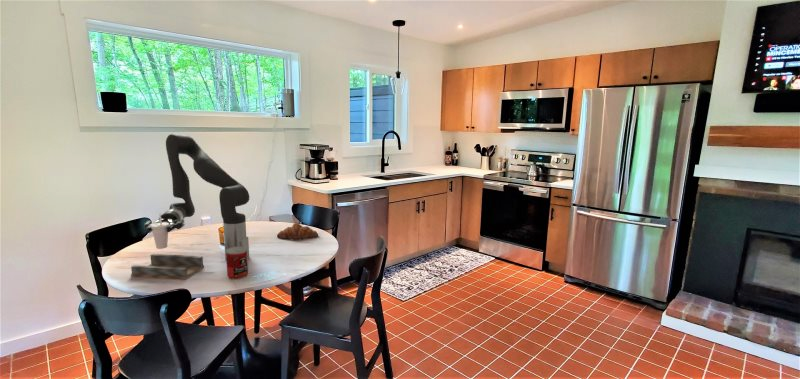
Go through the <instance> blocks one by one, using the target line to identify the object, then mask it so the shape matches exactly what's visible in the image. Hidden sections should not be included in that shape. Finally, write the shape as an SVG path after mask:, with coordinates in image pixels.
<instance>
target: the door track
mask: <svg viewBox="0 0 800 379" xmlns="http://www.w3.org/2000/svg"><path fill="white" fill-rule="evenodd" d="M203 258H204V257H203V256H200V255H199V256H197V255H184V254H183V255H182V254H166V253H165V254H164V253H163V254H161V253H151V254H150V264H148V265H138V264H135V265H131V267H130V268H131V274H130V277H132V278H147V279H148V278H150V279H163V280H164V279H165V280H181V281H182V280H186V279H188V278H189V277H191V276H192V275H194V274H196V273H197V272H199V271H201V270H202V269H203V268H204V267H205V265H204V261H203V260H204V259H203Z"/></svg>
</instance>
